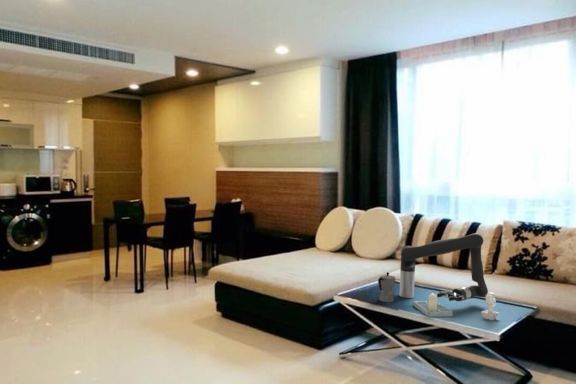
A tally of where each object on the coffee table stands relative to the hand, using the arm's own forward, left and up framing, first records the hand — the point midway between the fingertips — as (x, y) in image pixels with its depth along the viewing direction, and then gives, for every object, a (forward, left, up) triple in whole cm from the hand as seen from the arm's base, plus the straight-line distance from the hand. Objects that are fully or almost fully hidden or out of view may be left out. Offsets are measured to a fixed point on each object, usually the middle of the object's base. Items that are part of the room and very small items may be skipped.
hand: (443, 297), depth 270 cm
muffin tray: (-3, -5, -9) cm, 11 cm away
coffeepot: (-25, -26, -9) cm, 37 cm away
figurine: (+13, +22, -9) cm, 27 cm away
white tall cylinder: (+4, -8, -8) cm, 12 cm away
